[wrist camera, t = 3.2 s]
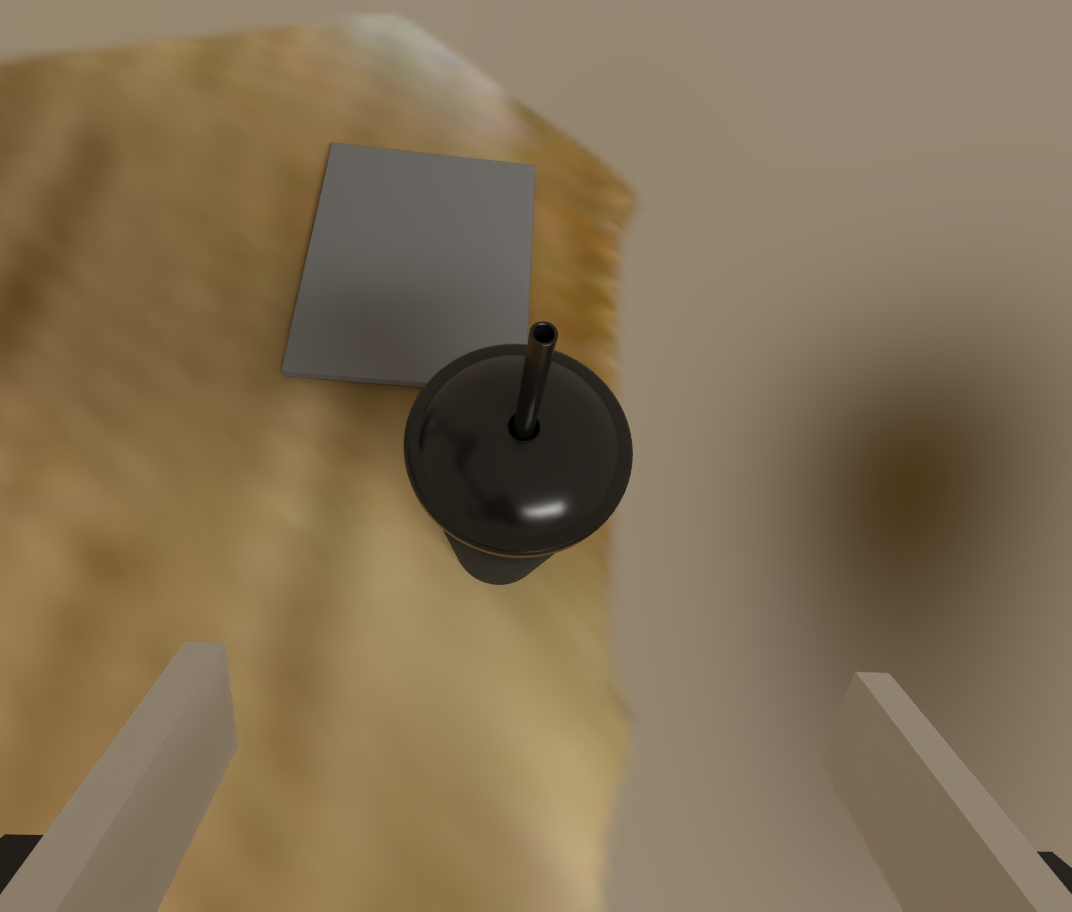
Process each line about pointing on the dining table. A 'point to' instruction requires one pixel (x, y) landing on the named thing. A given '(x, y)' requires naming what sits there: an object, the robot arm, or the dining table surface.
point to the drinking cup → (517, 454)
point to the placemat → (411, 265)
